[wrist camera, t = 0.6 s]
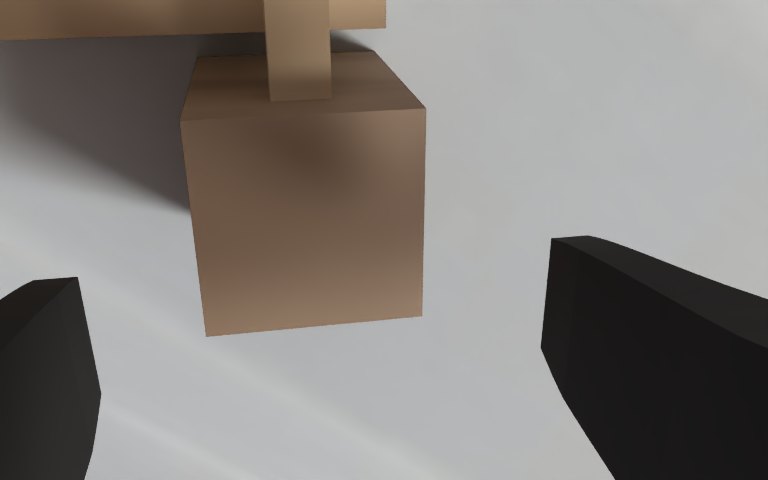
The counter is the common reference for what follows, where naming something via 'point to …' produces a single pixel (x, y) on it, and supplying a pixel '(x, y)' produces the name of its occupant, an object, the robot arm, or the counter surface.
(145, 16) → the board
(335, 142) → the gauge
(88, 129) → the counter surface
